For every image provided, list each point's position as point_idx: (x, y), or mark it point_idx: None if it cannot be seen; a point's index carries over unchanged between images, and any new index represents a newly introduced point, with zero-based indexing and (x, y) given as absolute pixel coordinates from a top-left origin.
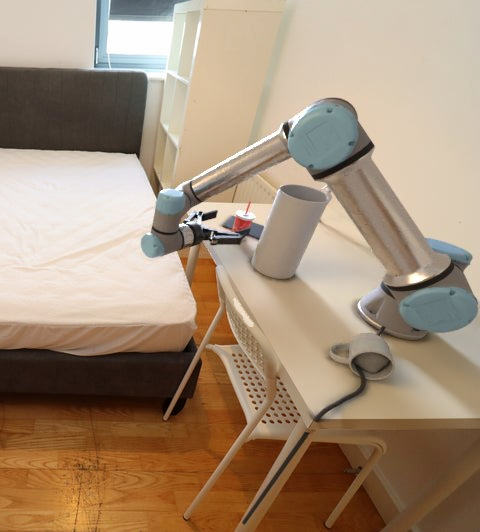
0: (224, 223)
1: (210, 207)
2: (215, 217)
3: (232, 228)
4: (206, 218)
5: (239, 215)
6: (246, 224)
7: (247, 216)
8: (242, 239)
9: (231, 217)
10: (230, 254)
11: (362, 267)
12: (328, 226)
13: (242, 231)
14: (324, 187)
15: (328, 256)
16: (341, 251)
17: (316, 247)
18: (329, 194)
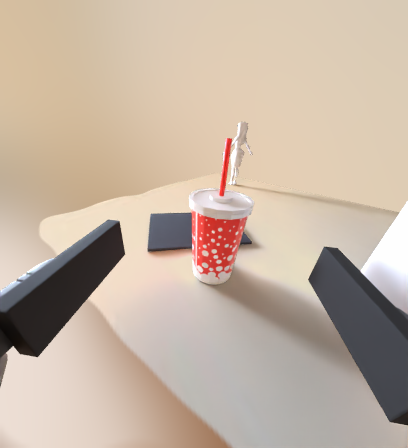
0: (148, 240)
1: (94, 213)
2: (122, 254)
3: (176, 246)
4: (64, 308)
5: (215, 207)
6: (242, 229)
7: (233, 201)
8: (231, 271)
9: (151, 218)
10: (312, 428)
11: (360, 220)
12: (250, 187)
13: (391, 312)
14: (235, 140)
15: (326, 223)
16: (311, 209)
17: (296, 215)
18: (240, 149)
